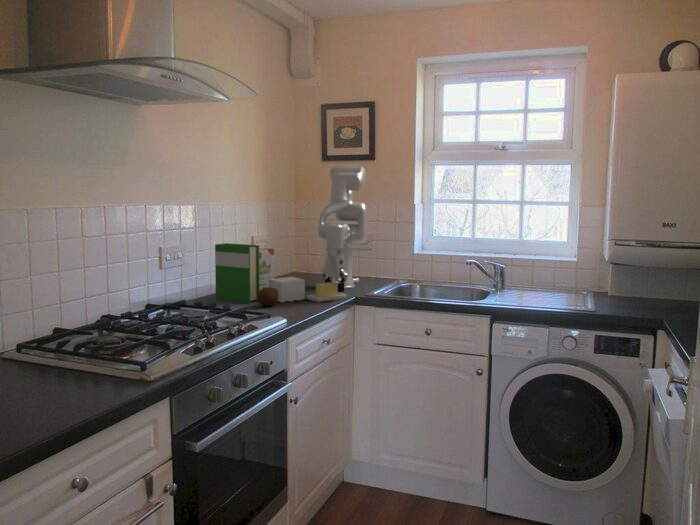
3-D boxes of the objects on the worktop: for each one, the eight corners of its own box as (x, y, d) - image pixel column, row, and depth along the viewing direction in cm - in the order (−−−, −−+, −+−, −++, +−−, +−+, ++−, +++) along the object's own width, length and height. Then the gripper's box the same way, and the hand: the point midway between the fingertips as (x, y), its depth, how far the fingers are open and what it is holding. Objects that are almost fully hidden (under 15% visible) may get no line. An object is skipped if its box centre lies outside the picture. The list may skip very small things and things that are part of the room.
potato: (281, 305, 236) (281, 286, 235) (268, 309, 228) (268, 289, 227) (267, 303, 240) (267, 285, 239) (253, 307, 231) (253, 288, 230)
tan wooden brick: (337, 295, 257) (337, 281, 257) (341, 296, 255) (341, 282, 254) (315, 298, 250) (315, 283, 249) (319, 299, 248) (319, 284, 247)
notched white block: (293, 295, 259) (293, 276, 257) (306, 299, 250) (306, 279, 249) (268, 298, 251) (268, 279, 250) (281, 302, 242) (281, 282, 241)
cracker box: (252, 296, 254) (252, 250, 252) (243, 295, 258) (242, 249, 255) (274, 293, 265) (274, 248, 263) (265, 291, 269) (265, 247, 266)
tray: (335, 295, 260) (335, 291, 260) (346, 298, 254) (347, 294, 253) (306, 299, 250) (306, 295, 250) (317, 302, 244) (317, 298, 244)
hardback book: (259, 300, 245) (259, 245, 243) (249, 303, 239) (248, 246, 236) (226, 296, 253) (226, 243, 250) (215, 299, 247) (215, 244, 244)
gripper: (353, 253, 248) (352, 292, 250) (330, 250, 261) (329, 287, 263) (339, 254, 243) (339, 294, 245) (316, 251, 256) (316, 288, 258)
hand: (334, 290), depth 254 cm, fingers open, 9 cm apart
